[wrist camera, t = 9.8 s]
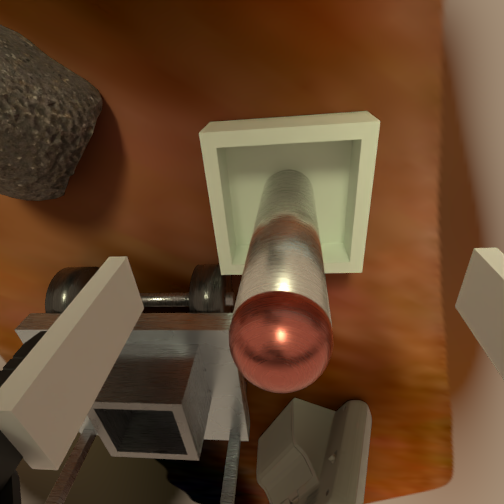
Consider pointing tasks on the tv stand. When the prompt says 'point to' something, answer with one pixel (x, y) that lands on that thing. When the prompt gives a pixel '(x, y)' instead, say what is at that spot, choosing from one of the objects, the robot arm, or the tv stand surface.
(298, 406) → the digital clock
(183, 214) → the tv stand surface
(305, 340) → the pin
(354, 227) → the tray
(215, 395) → the trolley
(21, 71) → the stone
